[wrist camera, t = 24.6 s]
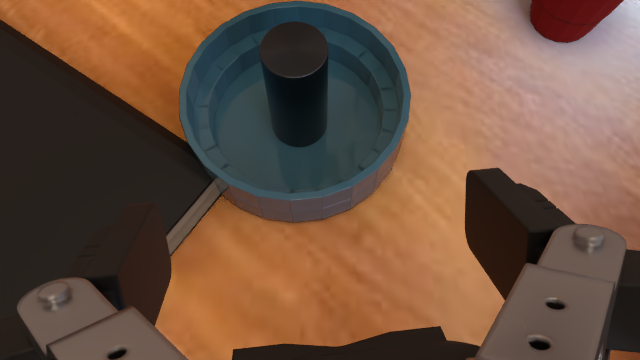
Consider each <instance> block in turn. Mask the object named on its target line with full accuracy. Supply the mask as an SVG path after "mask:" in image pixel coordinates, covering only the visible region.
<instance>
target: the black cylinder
mask: <svg viewBox="0 0 640 360" xmlns="http://www.w3.org/2000/svg"><path fill="white" fill-rule="evenodd" d="M259 53H260V59H261V64H262V70H263V76H264V81H265V87H266V93H267V98H268V104H269V110H270V115H271V121H272V127H273V131H274V133H275V135H276V136H277V137H278V138H279V139H280V140H281V141H282V142H283V143H285V144H287V145H290V146H294V147H305V146H309V145H311V144H313V143H315V142H317V141H318V140H319V139H320V138H321V137H322V136H323V135H324V133H325V131H326V128H327V107H328V43H327V40H326V38H325V36H324V35H323V34H322V32H320V31H319V30H318V29H317V28H316V27H314V26H312V25H310V24H307V23H304V22H297V21H293V22H285V23H282V24H279V25H277V26H275V27H273V28H272V29H271V30H269V31H268V32H267V33H266V34H265V36H264V37H263V39H262V41H261V44H260V49H259Z"/></svg>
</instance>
